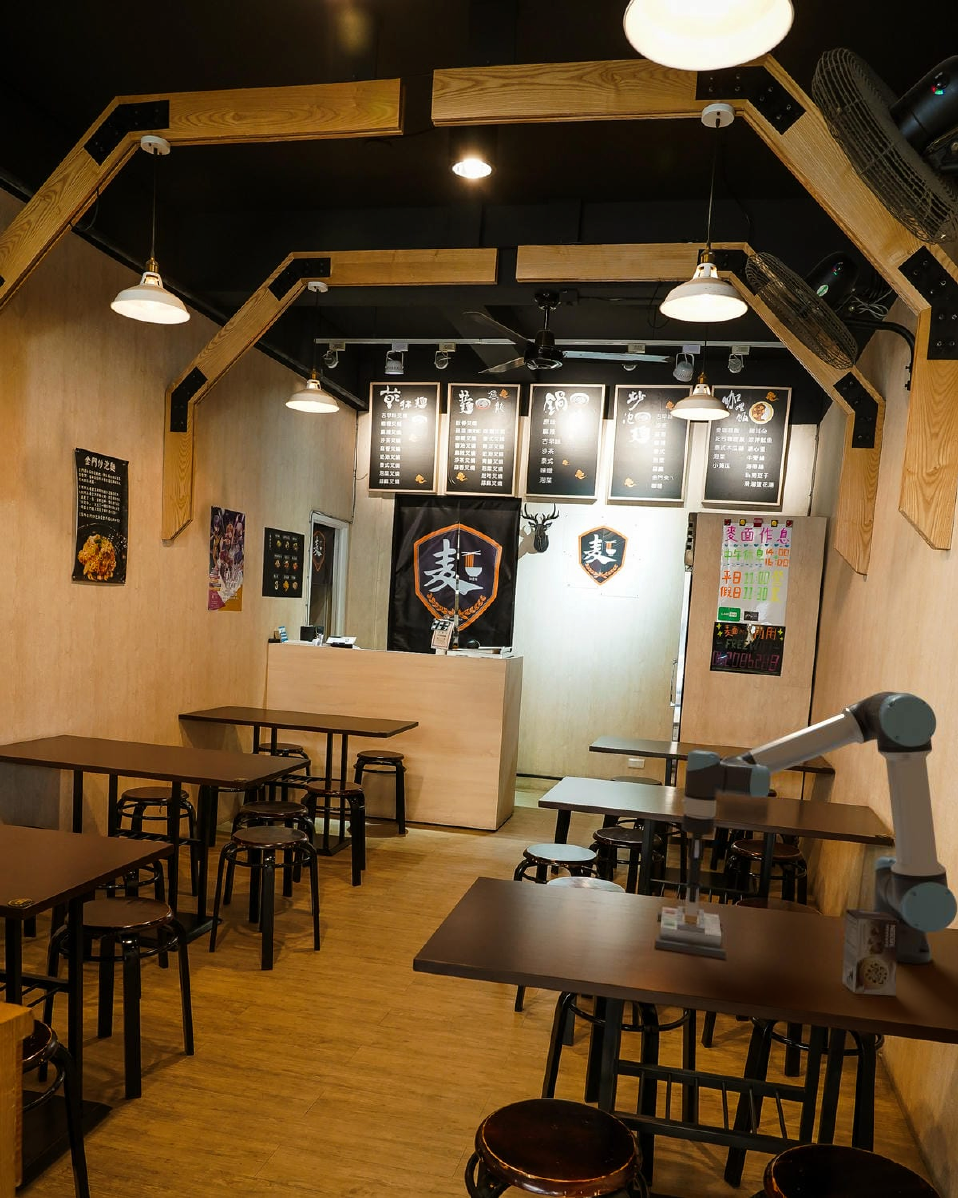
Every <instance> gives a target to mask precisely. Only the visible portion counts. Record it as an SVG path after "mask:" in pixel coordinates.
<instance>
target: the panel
mask: <svg viewBox="0 0 958 1198" xmlns="http://www.w3.org/2000/svg"><path fill="white" fill-rule="evenodd" d="M661 913H662V917H661V921H660V931H659V939H660V940H666V941H672V942H679V943H685V944H692V945H698V946H705V947H711V948H718V949H722V948H721V946H722V929H720V922H721V921H720V916H719V914H714V913H707V912H705V911H704V909H701V908H698V914H697V922H695V921H689V920H684V916H685V906H681V905H677V908H674V907H672V908H671V907H666V906H662V909H661Z"/></svg>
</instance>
